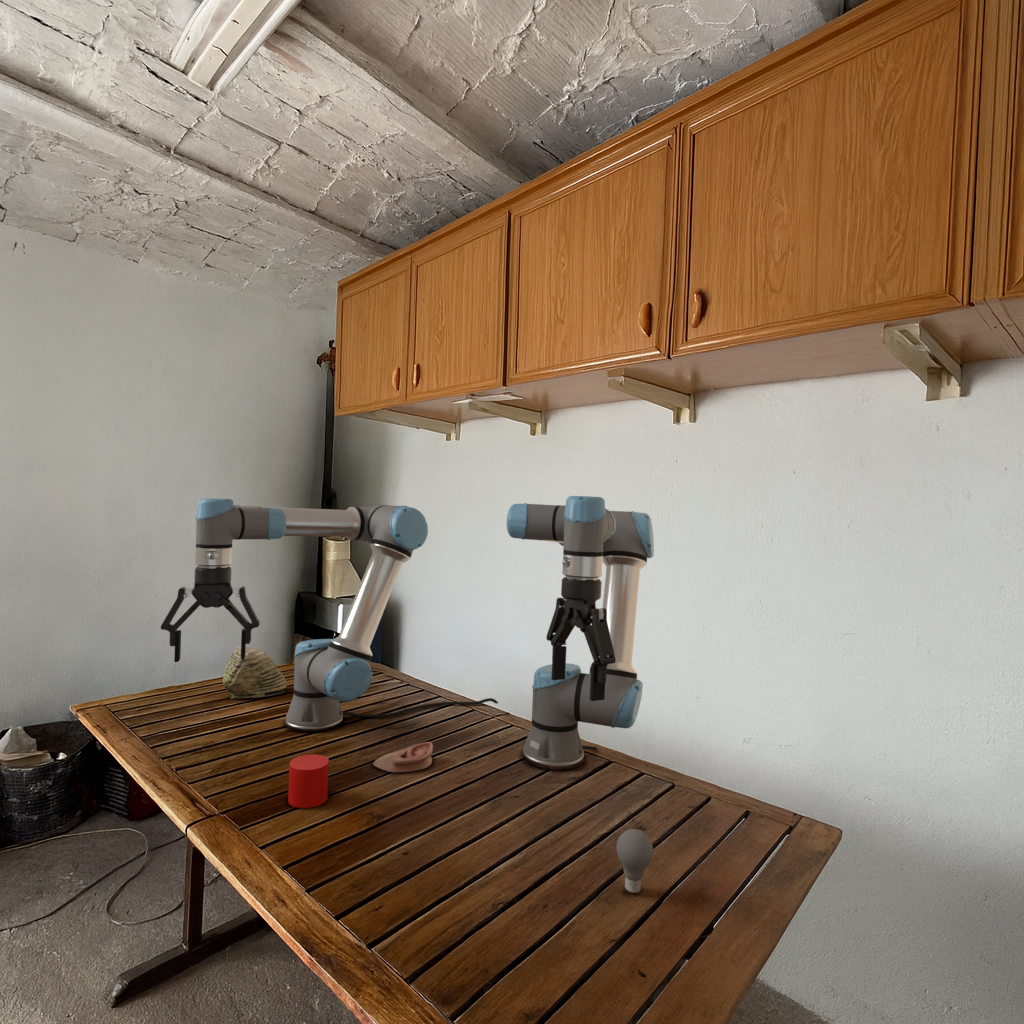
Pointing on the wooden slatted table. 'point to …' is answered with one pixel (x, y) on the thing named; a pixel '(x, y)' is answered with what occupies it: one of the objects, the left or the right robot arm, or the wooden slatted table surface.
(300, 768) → the canister
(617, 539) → the right robot arm
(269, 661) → the fossil
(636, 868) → the light bulb
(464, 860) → the wooden slatted table surface
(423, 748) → the anatomical model
